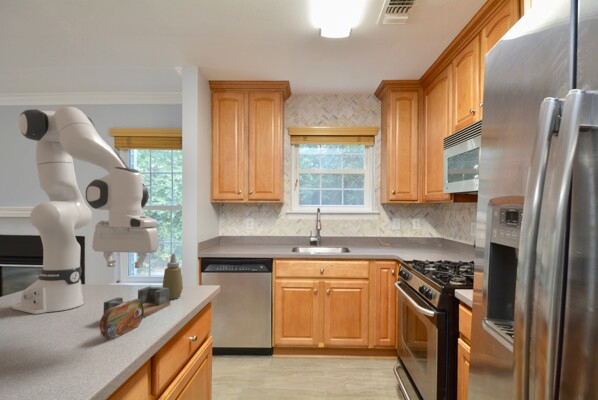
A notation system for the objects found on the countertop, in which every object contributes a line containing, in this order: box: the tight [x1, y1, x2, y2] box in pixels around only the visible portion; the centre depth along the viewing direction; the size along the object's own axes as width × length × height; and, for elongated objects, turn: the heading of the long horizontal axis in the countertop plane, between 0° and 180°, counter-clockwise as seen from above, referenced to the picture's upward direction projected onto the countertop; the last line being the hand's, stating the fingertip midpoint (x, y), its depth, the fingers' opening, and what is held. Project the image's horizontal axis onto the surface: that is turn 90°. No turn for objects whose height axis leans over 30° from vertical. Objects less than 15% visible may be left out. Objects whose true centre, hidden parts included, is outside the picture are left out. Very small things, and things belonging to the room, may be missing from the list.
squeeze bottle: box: [162, 253, 184, 300], centre depth 130 cm, size 8×8×18 cm
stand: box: [102, 286, 171, 320], centre depth 110 cm, size 10×22×6 cm, turn 169°
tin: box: [99, 300, 144, 339], centre depth 93 cm, size 15×3×8 cm, turn 168°
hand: (124, 267), depth 94 cm, fingers open, 8 cm apart
